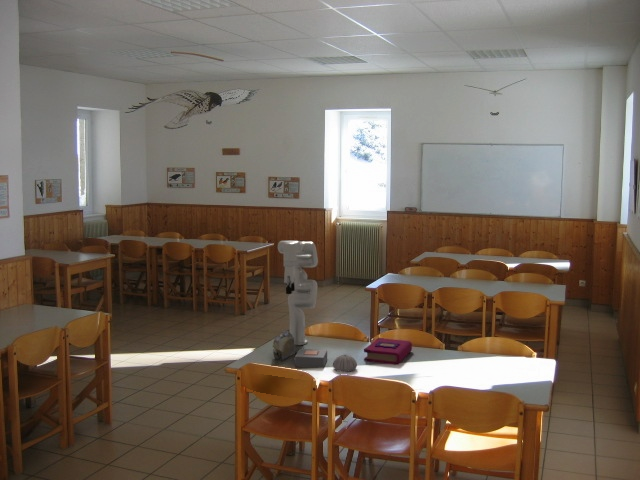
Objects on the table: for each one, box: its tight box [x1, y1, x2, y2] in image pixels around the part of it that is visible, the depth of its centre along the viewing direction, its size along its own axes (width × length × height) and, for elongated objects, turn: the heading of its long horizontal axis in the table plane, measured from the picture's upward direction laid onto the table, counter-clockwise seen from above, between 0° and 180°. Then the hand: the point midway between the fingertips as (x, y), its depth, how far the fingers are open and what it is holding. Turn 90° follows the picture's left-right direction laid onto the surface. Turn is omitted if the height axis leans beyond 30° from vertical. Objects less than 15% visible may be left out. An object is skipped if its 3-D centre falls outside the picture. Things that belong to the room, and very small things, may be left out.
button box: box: [294, 348, 328, 368], centre depth 375 cm, size 16×16×6 cm
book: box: [363, 337, 413, 366], centre depth 386 cm, size 21×28×8 cm
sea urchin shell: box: [332, 354, 358, 373], centre depth 363 cm, size 13×14×8 cm
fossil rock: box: [272, 329, 296, 362], centre depth 388 cm, size 21×10×15 cm, turn 158°
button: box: [304, 351, 318, 355], centre depth 375 cm, size 7×7×3 cm
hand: (290, 292), depth 392 cm, fingers open, 9 cm apart
